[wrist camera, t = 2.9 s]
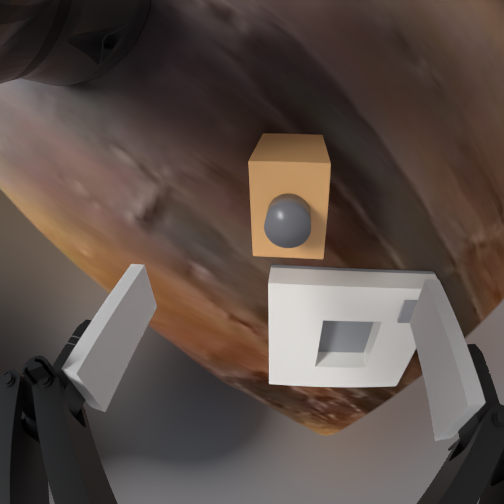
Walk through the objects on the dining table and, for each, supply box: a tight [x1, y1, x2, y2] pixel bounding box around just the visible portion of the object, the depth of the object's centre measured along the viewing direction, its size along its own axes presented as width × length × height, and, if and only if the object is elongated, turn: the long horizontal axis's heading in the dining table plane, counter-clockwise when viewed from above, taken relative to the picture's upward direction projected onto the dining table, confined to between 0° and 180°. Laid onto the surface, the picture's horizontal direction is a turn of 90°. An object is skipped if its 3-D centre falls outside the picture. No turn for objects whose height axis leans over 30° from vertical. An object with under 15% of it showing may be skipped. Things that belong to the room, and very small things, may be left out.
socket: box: [268, 265, 438, 387], centre depth 35 cm, size 18×18×3 cm
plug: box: [248, 133, 331, 259], centre depth 23 cm, size 5×7×10 cm
